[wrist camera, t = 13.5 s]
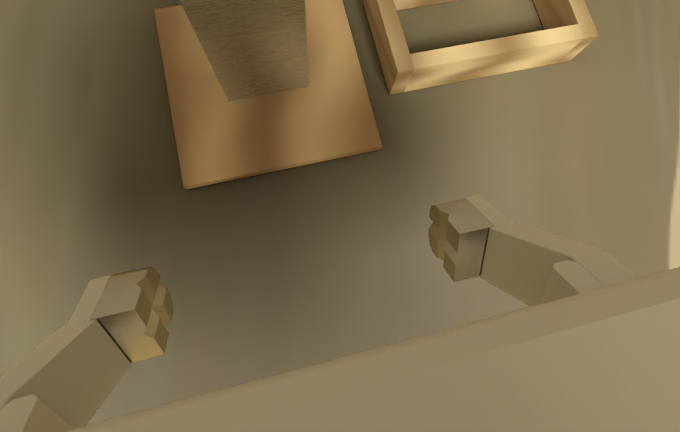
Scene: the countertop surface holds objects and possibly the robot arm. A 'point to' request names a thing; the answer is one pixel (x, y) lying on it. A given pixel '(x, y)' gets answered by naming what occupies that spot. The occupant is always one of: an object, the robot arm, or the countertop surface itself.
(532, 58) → the birch box
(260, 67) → the grey block
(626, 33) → the countertop surface
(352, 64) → the cork mat
